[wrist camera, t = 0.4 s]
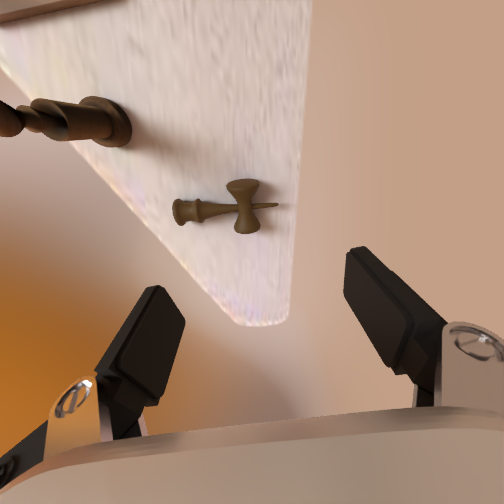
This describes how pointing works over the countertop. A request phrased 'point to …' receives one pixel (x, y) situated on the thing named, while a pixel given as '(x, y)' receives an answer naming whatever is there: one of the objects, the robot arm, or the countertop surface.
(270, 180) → the countertop surface
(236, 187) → the kendama
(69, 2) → the board
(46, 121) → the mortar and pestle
